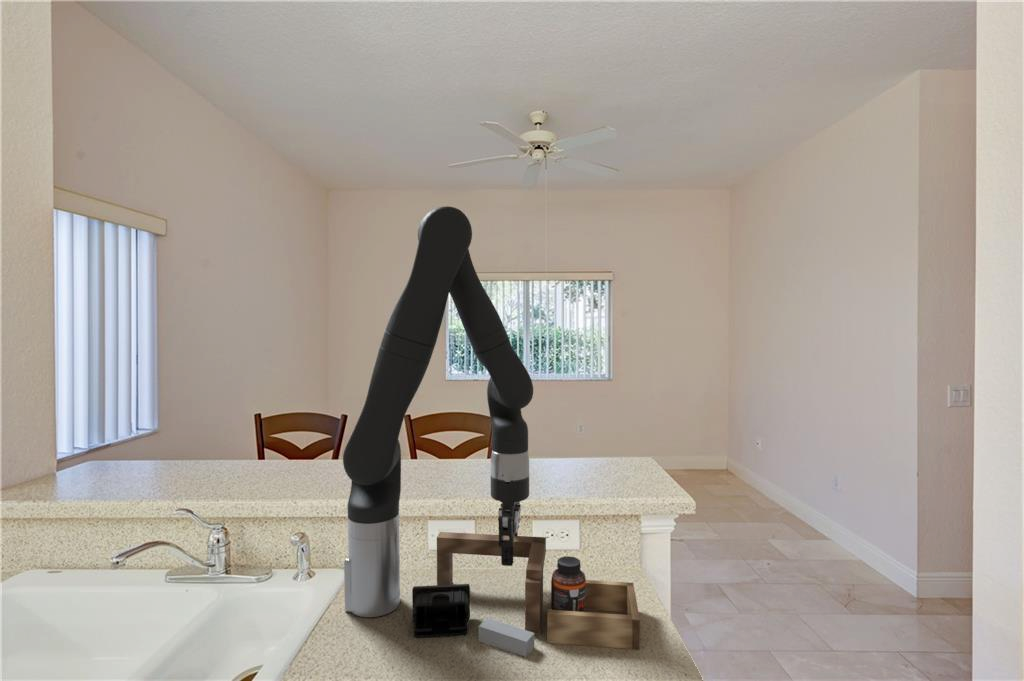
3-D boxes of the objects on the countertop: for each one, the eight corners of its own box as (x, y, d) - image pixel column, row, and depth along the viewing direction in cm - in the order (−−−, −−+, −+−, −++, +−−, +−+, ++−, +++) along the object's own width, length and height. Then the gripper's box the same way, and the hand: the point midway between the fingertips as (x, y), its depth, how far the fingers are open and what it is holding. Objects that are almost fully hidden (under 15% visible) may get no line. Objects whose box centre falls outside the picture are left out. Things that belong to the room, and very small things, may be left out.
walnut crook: (418, 625, 99) (418, 566, 99) (440, 582, 115) (440, 531, 114) (539, 634, 97) (539, 574, 96) (545, 589, 112) (545, 537, 111)
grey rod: (478, 642, 95) (478, 626, 95) (487, 633, 97) (487, 618, 97) (526, 658, 90) (526, 641, 90) (534, 649, 93) (534, 632, 93)
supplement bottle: (583, 635, 97) (584, 570, 96) (549, 630, 98) (549, 566, 97) (586, 616, 102) (587, 555, 102) (553, 612, 104) (554, 552, 103)
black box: (469, 613, 103) (469, 577, 103) (470, 636, 96) (470, 597, 96) (413, 616, 102) (413, 580, 102) (410, 639, 95) (410, 600, 95)
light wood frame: (547, 642, 94) (547, 613, 94) (551, 603, 107) (551, 577, 106) (639, 649, 92) (639, 619, 92) (632, 609, 105) (633, 582, 104)
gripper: (496, 462, 117) (496, 540, 119) (484, 483, 103) (484, 572, 104) (532, 463, 117) (532, 542, 118) (525, 485, 102) (525, 575, 103)
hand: (509, 556), depth 111 cm, fingers open, 6 cm apart
